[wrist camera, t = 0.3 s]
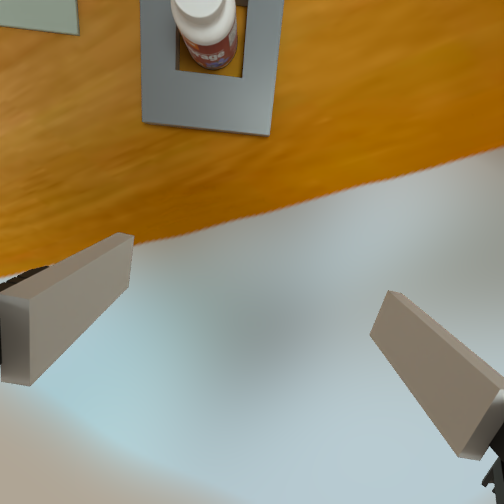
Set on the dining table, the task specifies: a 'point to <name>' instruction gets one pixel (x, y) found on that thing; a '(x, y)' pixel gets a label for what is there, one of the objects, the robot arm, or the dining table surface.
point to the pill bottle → (207, 30)
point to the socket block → (208, 85)
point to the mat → (41, 15)
